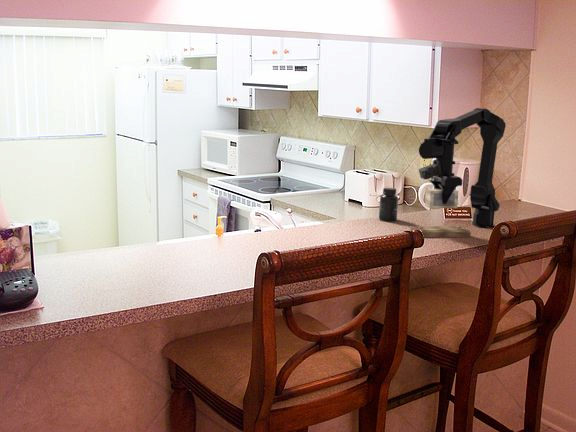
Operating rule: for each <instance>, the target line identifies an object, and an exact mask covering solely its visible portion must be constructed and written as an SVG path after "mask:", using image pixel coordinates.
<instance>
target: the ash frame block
mask: <svg viewBox="0 0 576 432" xmlns="http://www.w3.org/2000/svg"><path fill="white" fill-rule="evenodd" d="M458 202H459V189H458V190H457V189H455V190H454V191H453V193H452V194H451V196H450V198H449V200H448V201H447V203H446V204H443V202H442V189H434V188H426V189H425V198H424V206H425V207H426V208H427V209H457V208H458V204H459V203H458Z"/></svg>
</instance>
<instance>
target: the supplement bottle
mask: <svg viewBox="0 0 576 432" xmlns="http://www.w3.org/2000/svg"><path fill="white" fill-rule="evenodd" d="M382 193H383V194H382V195H381V196H380V198H379V209H378V210H379V211H378V219H379V220H380V221H382V222H396V221H397V219H398V209H399V208H398V207H399V197H398V196H397V188H394V187H383V190H382Z"/></svg>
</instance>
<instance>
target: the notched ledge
mask: <svg viewBox="0 0 576 432" xmlns="http://www.w3.org/2000/svg"><path fill="white" fill-rule="evenodd" d="M414 229H418V230H421V231H422V233H423V235H424V237H423V238H448V237H449V238H452V237H453V238H454V237H455V238H457V237H459V238H460V237H462V238H465V237H466V238H467V237H469V238H470V237H471V233H472V232H471V229H470V228H463V227H462V226H461V225H444V226H443V225H441V226H437V225H436V226H435V225H433V226H430V225H429V226H425V225H424V226H423V225H421V226H410V229H409V230H414Z"/></svg>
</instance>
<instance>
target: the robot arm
mask: <svg viewBox="0 0 576 432" xmlns="http://www.w3.org/2000/svg"><path fill="white" fill-rule="evenodd" d="M475 124H476V126H478V127H479V128H480V129H479V134H480V137H481V139H482V142H483V144H482V150H481V156H480V164H479V169H478V170H479V171H478V176H477V181H476V183H475V184H471V186H470V193H469V199H470V205H471V209H474V212H473V217H472V222H471V224H472V225H474V226H476V227H478V228H495V227H496V225H495V224H494V221H495V212H497V211H499V209H500V206H501V205H500V203H499V202H498V199H497V198H496V189H495V187H494V184H493V178H494V172H495V163H496V157H497V148H498V143H499V142H500V140H501V139H502V138H504V137H503V136H504V134H505V131H506V127H507V125H506V122H505V120H504V118H501V116H499V115H497V114H495V113H493V112H491V111H490V110H489V109H487V108H484V107H483V108H481V107H476V108H474V109H473V110H471V111H469V112H466V113H464V114H462V115H460V116H456V117H454V118H445V119H440V120H438V121H437V122H436V124H435V126H434V128H433V130H432V131H431V133H430V135H429V136H428V138H427V137H425V138H423V142H422V143H421V144H420V145H419V147H418V153H419V156H420V157H421V158H422V159H424V160H427V159H428V160H430V159H433V161H432V164H429V165H426V166H423V167H421V168H419V169H418V173H419V177H420V179H423V180H428V183H429V182H430V183H431V185H433V189H442V202H443V204H446V203H447V201H448V200H449V198H450V196H451V194H452V193H453V191H454V190H456V188H458V187H459V186H463V179H462V178H461V177H460V176H458V175H455V173H454V172H453V168H454V165H456V161H455V160H454V156H455V155H454V153H455V145H459V144H460V142H459V141H458V140H457V139H456V138H457V137H458V136H459V135H460V134H462V132H463V130H464V129H465V130H466V129H467V128H469V127H471V126H474V125H475ZM494 226H495V227H494Z"/></svg>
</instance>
